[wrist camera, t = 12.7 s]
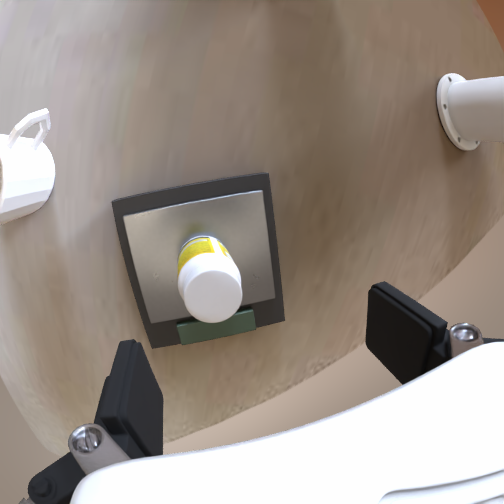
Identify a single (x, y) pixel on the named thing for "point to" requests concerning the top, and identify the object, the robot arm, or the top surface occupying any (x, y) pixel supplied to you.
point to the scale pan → (192, 225)
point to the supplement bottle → (208, 280)
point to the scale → (191, 327)
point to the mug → (25, 169)
